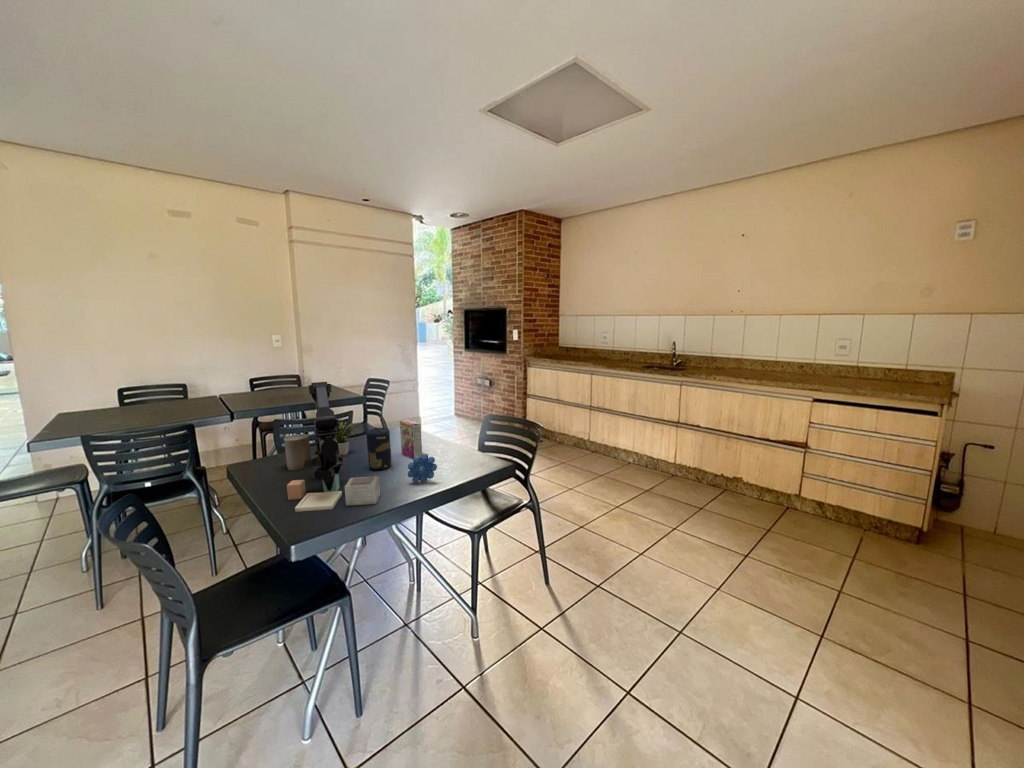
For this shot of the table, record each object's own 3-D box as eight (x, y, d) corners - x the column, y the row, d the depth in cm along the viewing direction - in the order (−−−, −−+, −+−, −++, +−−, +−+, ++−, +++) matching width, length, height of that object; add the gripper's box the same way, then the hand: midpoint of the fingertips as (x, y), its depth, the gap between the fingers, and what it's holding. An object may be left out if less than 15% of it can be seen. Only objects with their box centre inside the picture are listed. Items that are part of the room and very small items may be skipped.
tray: (307, 496, 149) (307, 493, 149) (342, 494, 151) (341, 491, 151) (295, 511, 138) (294, 508, 138) (332, 509, 139) (332, 505, 139)
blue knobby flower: (439, 478, 165) (438, 449, 163) (436, 485, 159) (435, 455, 157) (410, 479, 165) (408, 450, 163) (406, 485, 158) (405, 456, 156)
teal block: (327, 488, 157) (326, 474, 156) (339, 487, 158) (338, 473, 157) (323, 493, 153) (322, 479, 152) (336, 492, 153) (335, 478, 153)
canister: (388, 462, 185) (385, 423, 182) (394, 468, 177) (392, 428, 175) (366, 466, 180) (363, 426, 177) (372, 473, 172) (369, 431, 169)
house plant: (339, 461, 187) (336, 426, 184) (318, 457, 193) (315, 423, 190) (363, 452, 200) (360, 419, 197) (342, 448, 206) (339, 417, 203)
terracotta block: (293, 494, 152) (291, 480, 151) (305, 493, 152) (304, 479, 152) (288, 499, 147) (286, 485, 147) (301, 498, 148) (300, 484, 147)
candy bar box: (400, 454, 196) (399, 420, 194) (410, 451, 200) (408, 418, 197) (413, 459, 188) (411, 424, 186) (422, 456, 192) (421, 422, 189)
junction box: (352, 495, 150) (350, 476, 149) (380, 493, 151) (378, 474, 150) (346, 505, 142) (344, 485, 141) (375, 503, 143) (374, 483, 142)
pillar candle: (316, 463, 185) (312, 431, 183) (303, 470, 175) (299, 437, 173) (295, 463, 186) (292, 431, 184) (281, 470, 176) (278, 437, 174)
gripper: (313, 441, 161) (317, 479, 163) (295, 457, 143) (300, 499, 145) (343, 440, 162) (346, 477, 165) (329, 455, 144) (332, 497, 146)
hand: (331, 487), depth 155 cm, fingers open, 5 cm apart
